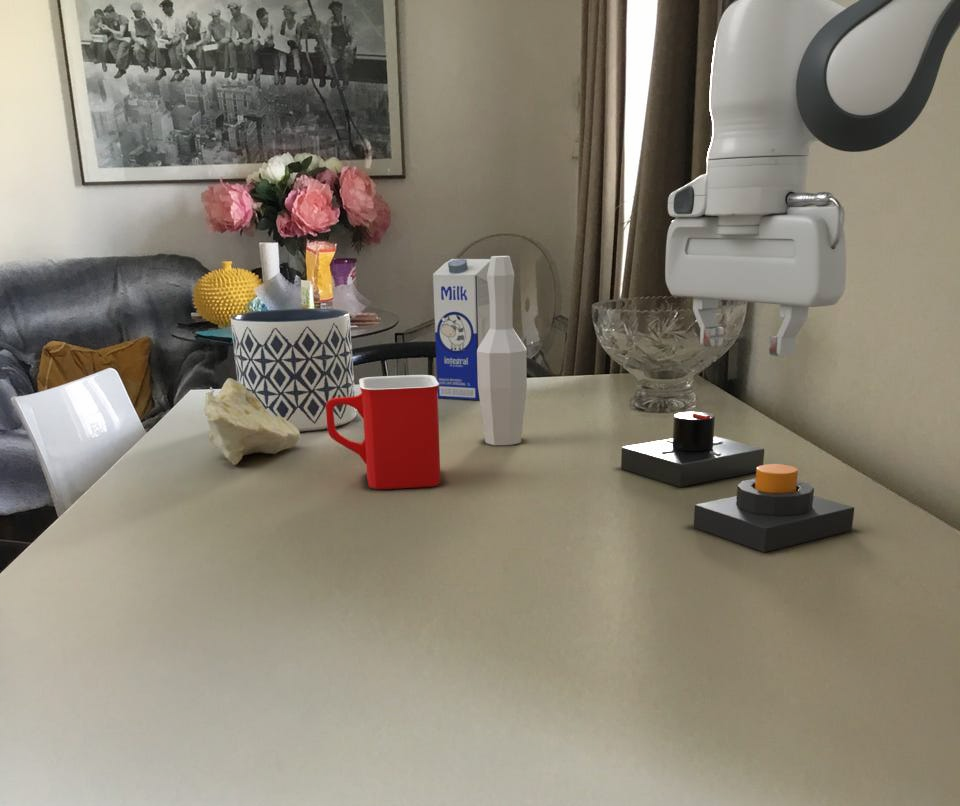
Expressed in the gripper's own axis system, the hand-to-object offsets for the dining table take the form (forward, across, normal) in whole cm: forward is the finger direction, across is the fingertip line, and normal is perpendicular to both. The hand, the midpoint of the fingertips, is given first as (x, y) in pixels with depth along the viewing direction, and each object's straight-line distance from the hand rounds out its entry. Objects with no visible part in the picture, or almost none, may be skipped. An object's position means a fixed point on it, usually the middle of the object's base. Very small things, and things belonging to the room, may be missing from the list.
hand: (745, 350), depth 101 cm
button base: (+15, -10, +4) cm, 18 cm away
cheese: (+14, +45, +35) cm, 59 cm away
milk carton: (+14, +68, -8) cm, 70 cm away
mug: (+14, +27, +26) cm, 40 cm away
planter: (+14, +64, +21) cm, 69 cm away
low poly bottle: (+14, +36, +5) cm, 40 cm away
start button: (+11, -10, +4) cm, 15 cm away
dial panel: (+14, +12, -4) cm, 19 cm away
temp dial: (+12, +12, -4) cm, 17 cm away
